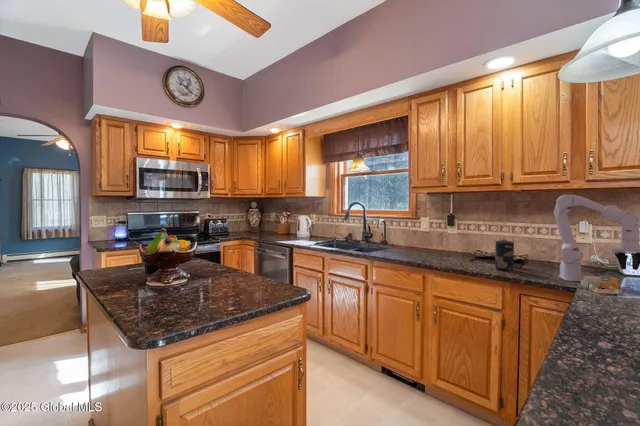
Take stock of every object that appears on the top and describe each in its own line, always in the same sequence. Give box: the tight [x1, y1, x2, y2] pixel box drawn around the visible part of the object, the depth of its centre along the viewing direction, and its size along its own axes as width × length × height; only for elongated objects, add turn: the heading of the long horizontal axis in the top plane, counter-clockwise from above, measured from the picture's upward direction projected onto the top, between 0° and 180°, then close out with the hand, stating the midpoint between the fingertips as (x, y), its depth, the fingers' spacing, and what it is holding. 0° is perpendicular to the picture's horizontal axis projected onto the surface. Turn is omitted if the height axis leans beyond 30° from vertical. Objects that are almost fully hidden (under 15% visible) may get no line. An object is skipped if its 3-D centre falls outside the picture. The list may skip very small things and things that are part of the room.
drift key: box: [601, 276, 619, 289], centre depth 144 cm, size 4×6×5 cm
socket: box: [580, 279, 598, 288], centre depth 146 cm, size 9×2×3 cm, turn 165°
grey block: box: [582, 275, 602, 289], centre depth 146 cm, size 4×5×5 cm
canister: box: [494, 239, 515, 271], centre depth 184 cm, size 10×10×18 cm
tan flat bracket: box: [588, 285, 621, 295], centre depth 138 cm, size 6×8×2 cm
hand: (629, 269), depth 142 cm, fingers open, 4 cm apart
